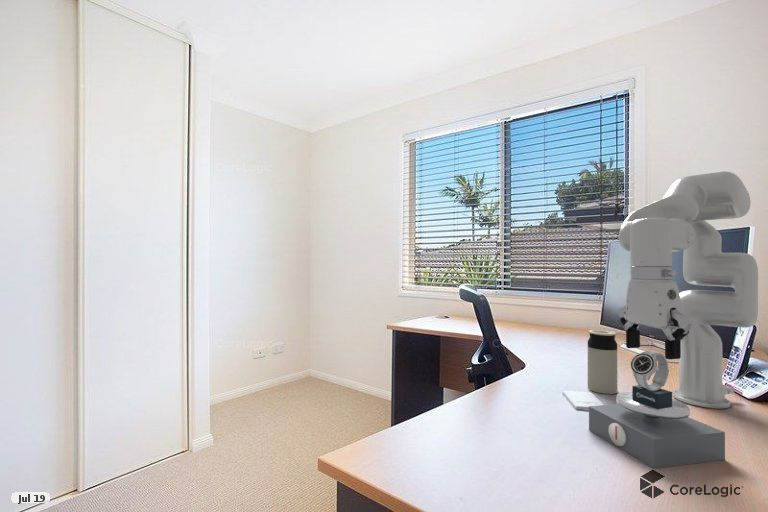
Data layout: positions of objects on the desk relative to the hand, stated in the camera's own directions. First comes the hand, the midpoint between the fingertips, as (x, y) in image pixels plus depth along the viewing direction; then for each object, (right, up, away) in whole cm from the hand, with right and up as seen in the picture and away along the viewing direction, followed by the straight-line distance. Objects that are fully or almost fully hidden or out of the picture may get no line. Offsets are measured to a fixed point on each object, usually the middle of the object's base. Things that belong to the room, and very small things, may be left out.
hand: (651, 352), depth 83 cm
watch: (-1, -11, -1) cm, 11 cm away
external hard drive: (-2, -21, +24) cm, 32 cm away
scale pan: (0, -14, 0) cm, 14 cm away
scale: (-1, -20, -1) cm, 20 cm away
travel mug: (+9, -20, +34) cm, 41 cm away
